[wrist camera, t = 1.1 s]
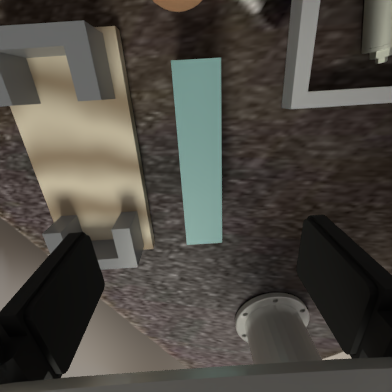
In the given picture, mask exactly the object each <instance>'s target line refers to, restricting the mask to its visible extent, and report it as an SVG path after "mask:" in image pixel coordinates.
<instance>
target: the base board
mask: <svg viewBox="0 0 392 392" xmlns="http://www.w3.org/2000/svg"><path fill="white" fill-rule="evenodd" d="M94 28H96V29H97V30H99V31H100V32H101V33H103V37H104V42H105V47H106V52H107V58H108V63H109V68H110V73H111V78H112V83H113V89H114V94H115V99H107V100H92V101H78V100H77V96H76V92H75V88H74V84H73V80H72V76H71V73H70V69H69V65H68V61H67V57H66V55H65V56H50V57H34V58H26V59H27V62H28V65H29V68H30V71H31V74H32V77H33V80H34V83H35V87H36V90H37V93H38V96H39V99H40V102H41V104H30V105H15V106H10V108H11V110H12V113H13V116H14V118H15V121H16V123H17V126H18V129H19V131H20V134H21V137H22V139H23V142H24V145H25V147H26V150H27V152H28V155H29V158H30V160H31V163H32V166H33V168H34V171H35V174H36V176H37V179H38V181H39V184H40V187H41V189H42V192H43V195H44V197H45V200H46V203H47V205H48V208H49V210H50V213H51V216H52V218H53V221H54V222H55V221H57V220H58V219H59V218H60V217H61V216H69V215H77V216H78V219H79V222H80V225H81V229H82V232H84V233H85V234H86V235H89V236H90V238H91V241H94V240H109V239H113V235H112V231H111V229H112V227H113V226H114V224H115V222H116V220H117V219H118V217H119V215H120V214H121V212H131V211H137V213H138V218H139V223H140V229H141V234H142V239H143V244H144V248H143V250H144V249H153V248H154V244H155V240H154V234H153V228H152V222H151V216H150V210H149V204H148V198H147V192H146V186H145V180H144V174H143V168H142V162H141V156H140V150H139V144H138V138H137V132H136V126H135V120H134V114H133V108H132V102H131V96H130V90H129V84H128V78H127V72H126V66H125V60H124V54H123V48H122V42H121V36H120V30H119V29H118V28H117V27H115V26H106V27H94Z"/></svg>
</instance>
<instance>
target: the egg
mask: <svg viewBox="0 0 392 392" xmlns="http://www.w3.org/2000/svg"><path fill="white" fill-rule="evenodd" d="M201 1H202V0H153V2H154V3H156V4H157V5H159V6H160V7H162V8H164V9H166V10H169V11H175V12H182V11H187V10H189V9H192V8H194V7H195V6H197V5H198V4H199V3H200V2H201Z"/></svg>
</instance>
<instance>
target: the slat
mask: <svg viewBox="0 0 392 392" xmlns="http://www.w3.org/2000/svg"><path fill="white" fill-rule="evenodd" d="M171 67H172V78H173V90H174V102H175V113H176V125H177V136H178V148H179V159H180V171H181V182H182V194H183V205H184V217H185V228H186V240H187V245H191V244H207V243H222V143H221V58H206V59H189V60H172V61H171Z"/></svg>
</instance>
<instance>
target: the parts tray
mask: <svg viewBox="0 0 392 392" xmlns="http://www.w3.org/2000/svg"><path fill="white" fill-rule="evenodd" d="M319 7H320V0H292V3H291V13H290V24H289V35H288V45H287V56H286V66H285V77H284V88H283V98H282V108H286V109H302V108H317V107H333V106H348V105H364V104H379V103H392V86H383V87H368V88H353V89H337V90H322V91H308V87H309V80H310V72H311V65H312V58H313V50H314V43H315V36H316V29H317V21H318V14H319Z"/></svg>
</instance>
